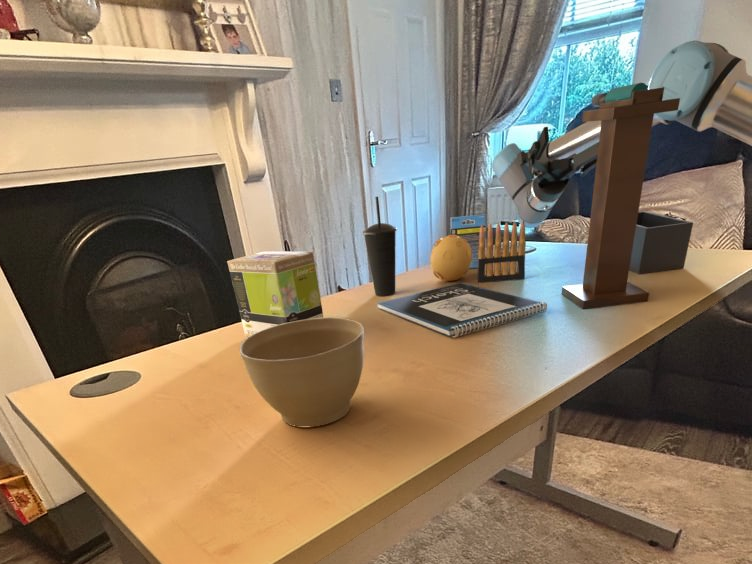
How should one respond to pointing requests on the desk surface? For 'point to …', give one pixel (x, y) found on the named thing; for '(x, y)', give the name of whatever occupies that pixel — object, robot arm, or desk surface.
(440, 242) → the stress ball
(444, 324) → the sketchbook
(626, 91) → the marker
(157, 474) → the desk surface
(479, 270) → the ammunition clip
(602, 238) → the headphone stand
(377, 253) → the drinking cup
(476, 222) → the label tape box
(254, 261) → the tea box
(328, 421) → the planter bowl
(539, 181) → the robot arm
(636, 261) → the pen holder
